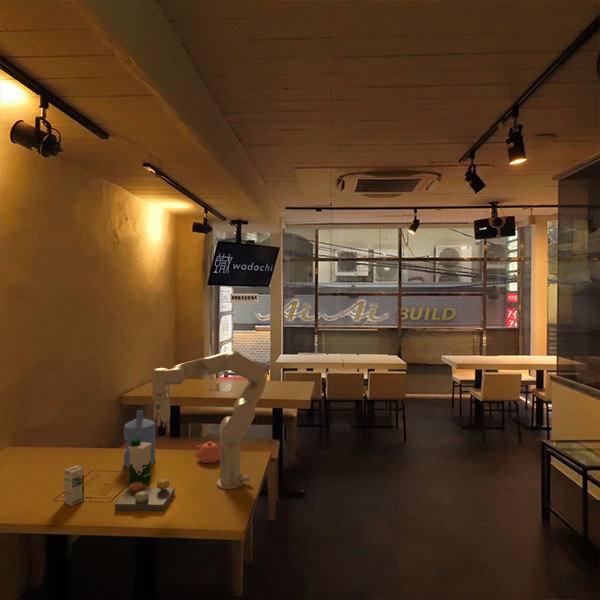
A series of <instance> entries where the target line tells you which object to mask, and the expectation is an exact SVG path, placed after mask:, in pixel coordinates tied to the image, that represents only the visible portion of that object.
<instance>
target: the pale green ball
mask: <svg viewBox="0 0 600 600" xmlns="http://www.w3.org/2000/svg"><path fill="white" fill-rule="evenodd" d="M148 499H149V492H147V491H140V492H138V493H136V502H145V501H147V500H148Z"/></svg>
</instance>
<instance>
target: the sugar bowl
mask: <svg viewBox="0 0 600 600" xmlns="http://www.w3.org/2000/svg"><path fill="white" fill-rule="evenodd" d="M198 448H199V450H198ZM195 451H196V453H195V454H194V457H196V458H197V459H198V460H199V462H201V463H202V464H215V463H216V462H219V461H220V446H218V444H217V443H215V442H212V441H207V442H206V443H203V444H198V445H196V447H195Z"/></svg>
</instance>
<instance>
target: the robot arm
mask: <svg viewBox="0 0 600 600" xmlns="http://www.w3.org/2000/svg"><path fill="white" fill-rule="evenodd" d="M227 371H231V372H232V373H234V374H236V375H238V376H240V377H243V378H244V379H246V380H247V383H246V386H245V387H244V389H243V391H242V392H241V393H240V395H239V396H238V397H237V400H236V401H235V402H234V404H233V413H232V415H228V416H225V417H224V418H223V419H222V420H221V422H220V424H219V443H220V444H219V449H220V459H219V467H220V468H219V469H220V470H219V476H220V477H219V479H217V481H216V486H217V488H219V489H223V490H224V489H225V490H233V489H238V488H241V487H242V486H243V485H244V483H245V482H250V480H251V479H250V476H249V475H248V474H246V475H245V474H244V475H243V472H242V471H241V450H242V449H241V447H242V446H241V443H242V441H241V439H243V437H244V435H245V433H246V432H247V430H248V429H249V427H250V425H251V424H252V422H253V420H254V419H255V416H256V405H257V403H258V401H259V400H260V398H261V396H262V395H263V393H264V391H265V388H266V379H267V378H266V369H265V367H264V366H263V365H262V363H261V362H259V361H258V360H252V359H250V358H247V357H246V356H243V355H242V354H241V353H240V352H239V351H238V350H235V349H234V350H228V351H225V352H222V353H218V354H215V355H211V356H207V357H203V358H202V357H201V358H199V359H194V360H191V361H189V360H188V361H186V362H183V363H180V364H176V365H175V366H172V368H171V369H168V368H166V367H157V368H154V369H153V370H152V372H151V388H152V390H151V391H152V394H151V395H152V401H153V422H154V423H156V426H157V436H158V437H165V436H166V435H167V421H168V420H169V419H170V417H171V404H170V397H171V395H170V394H171V391H170V385H174V386H178V385H182V384H184V383H185V381H186V379H188V378H192V377H196V376H212V375H213V376H214V375H216V374H219V373H222V372H227Z"/></svg>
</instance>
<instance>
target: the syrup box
mask: <svg viewBox="0 0 600 600" xmlns="http://www.w3.org/2000/svg"><path fill="white" fill-rule="evenodd" d="M84 475H85V472H84V467H82V466H80V465H74V466H72V467H69V468H66V469H64V470H63V498H64V499H63V500H64V503H65V504H66V505H69V506H71V507H72V506H73V507H74V505H77V504H79V503H82V502H84V501H85V476H84Z"/></svg>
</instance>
